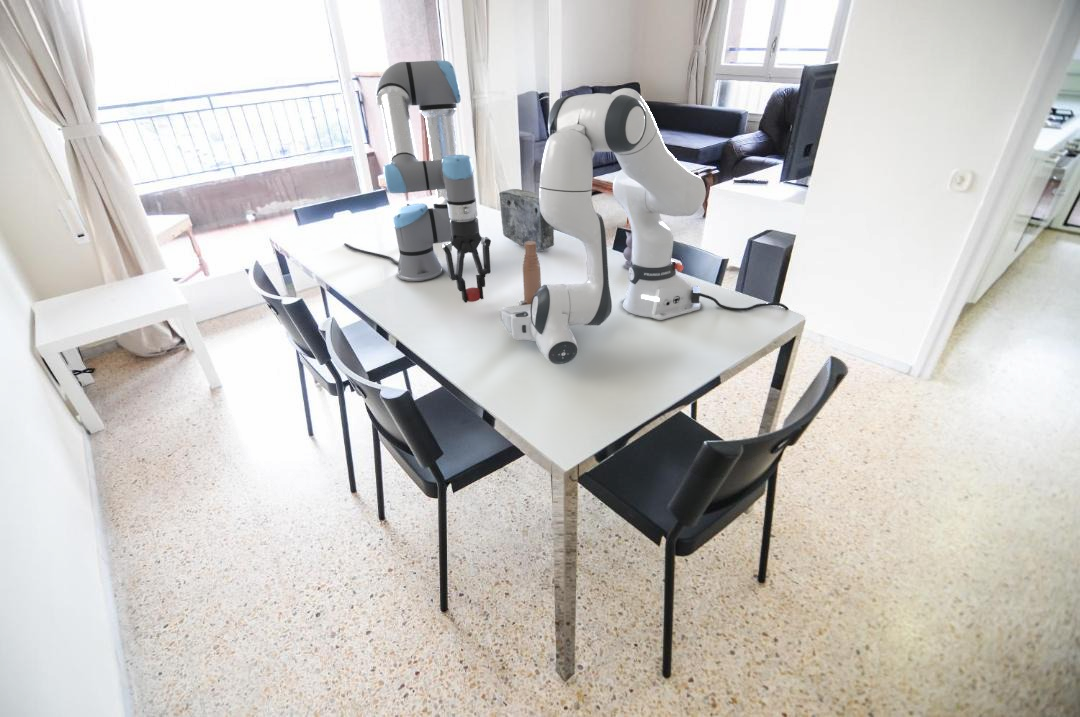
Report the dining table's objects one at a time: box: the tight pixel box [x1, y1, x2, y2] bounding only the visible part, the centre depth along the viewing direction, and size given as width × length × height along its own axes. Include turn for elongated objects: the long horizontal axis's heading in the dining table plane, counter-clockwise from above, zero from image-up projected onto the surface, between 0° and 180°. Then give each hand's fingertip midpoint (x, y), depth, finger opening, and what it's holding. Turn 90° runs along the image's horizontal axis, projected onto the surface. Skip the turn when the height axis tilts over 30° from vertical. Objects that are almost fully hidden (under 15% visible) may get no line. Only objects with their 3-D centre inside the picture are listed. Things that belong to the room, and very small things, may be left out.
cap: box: [466, 287, 481, 303], centre depth 143 cm, size 4×4×3 cm
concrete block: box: [498, 188, 555, 252], centre depth 192 cm, size 27×9×20 cm, turn 36°
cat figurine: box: [622, 231, 632, 270], centre depth 172 cm, size 8×8×12 cm
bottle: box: [522, 241, 542, 305], centre depth 134 cm, size 5×5×24 cm
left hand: (472, 298), depth 144 cm, fingers closed on cap, 4 cm apart
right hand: (532, 301), depth 138 cm, fingers closed on bottle, 5 cm apart
